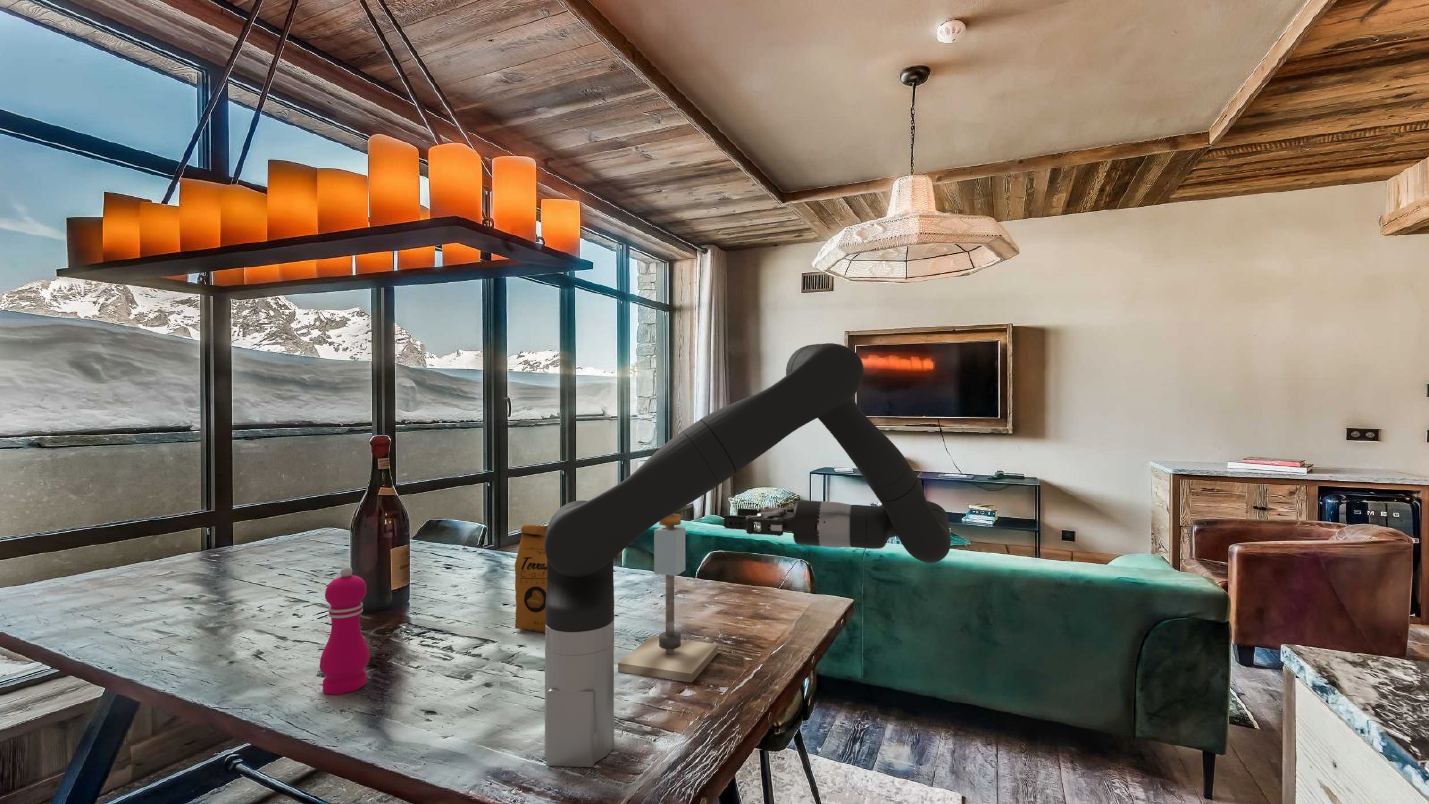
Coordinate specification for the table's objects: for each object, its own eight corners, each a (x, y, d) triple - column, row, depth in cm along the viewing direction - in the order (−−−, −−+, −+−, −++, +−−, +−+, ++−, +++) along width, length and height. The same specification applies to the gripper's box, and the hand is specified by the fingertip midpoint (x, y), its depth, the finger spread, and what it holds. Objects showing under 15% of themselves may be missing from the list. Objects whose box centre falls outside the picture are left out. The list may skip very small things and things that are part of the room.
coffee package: (559, 639, 123) (560, 530, 124) (507, 633, 127) (508, 527, 127) (584, 623, 133) (584, 522, 133) (535, 618, 136) (535, 520, 137)
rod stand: (718, 652, 116) (717, 469, 117) (691, 682, 103) (691, 476, 104) (651, 643, 121) (651, 467, 122) (618, 671, 107) (618, 473, 108)
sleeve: (685, 570, 114) (685, 527, 114) (676, 575, 109) (676, 531, 110) (663, 568, 115) (663, 525, 115) (654, 573, 111) (654, 529, 111)
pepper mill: (359, 673, 107) (361, 559, 107) (376, 685, 102) (378, 566, 103) (312, 688, 101) (314, 567, 102) (328, 700, 97) (330, 574, 97)
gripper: (828, 496, 109) (741, 492, 114) (818, 507, 96) (720, 501, 100) (828, 538, 109) (740, 532, 114) (817, 555, 95) (719, 547, 100)
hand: (731, 517), depth 107 cm, fingers open, 8 cm apart
